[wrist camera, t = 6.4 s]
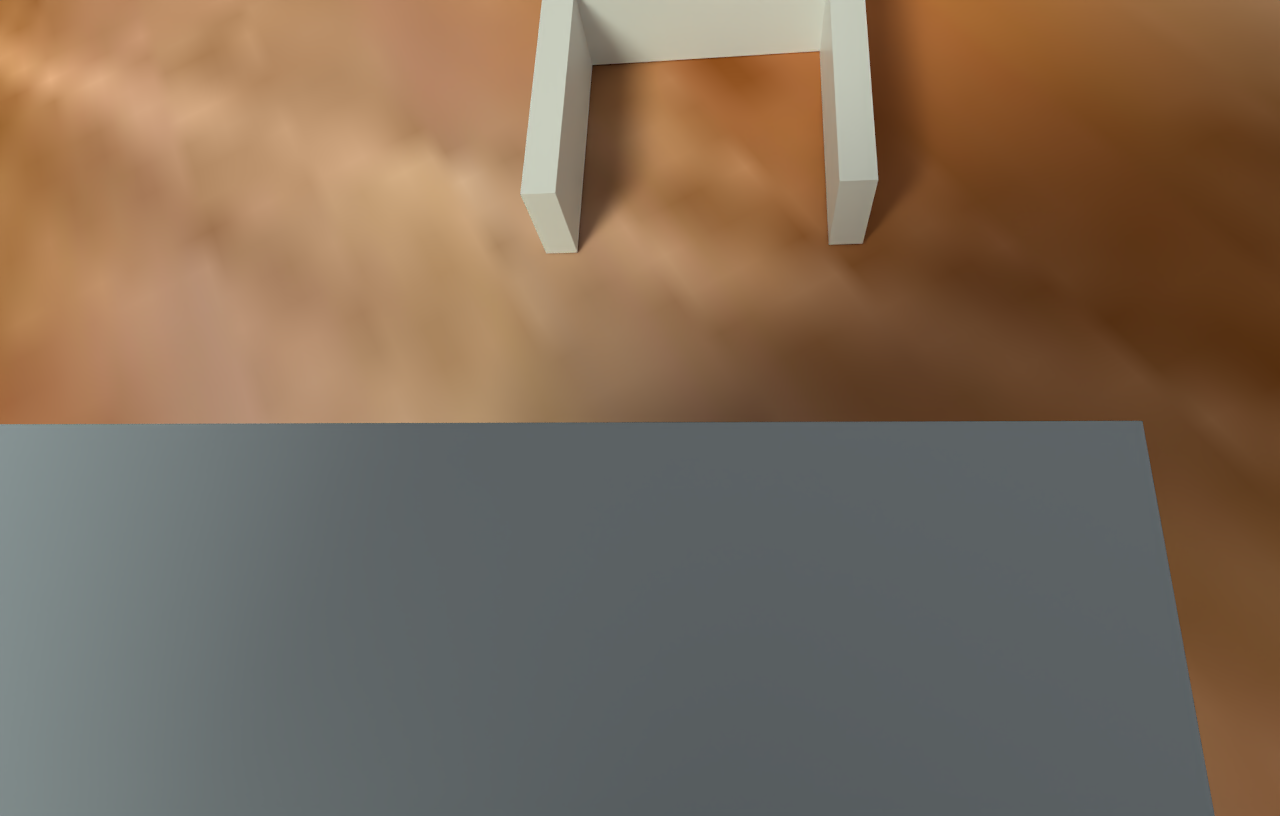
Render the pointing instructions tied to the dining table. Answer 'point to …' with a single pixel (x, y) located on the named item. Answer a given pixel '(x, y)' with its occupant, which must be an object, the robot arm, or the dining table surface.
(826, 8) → the acrylic channel
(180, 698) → the painted block
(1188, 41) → the dining table surface
